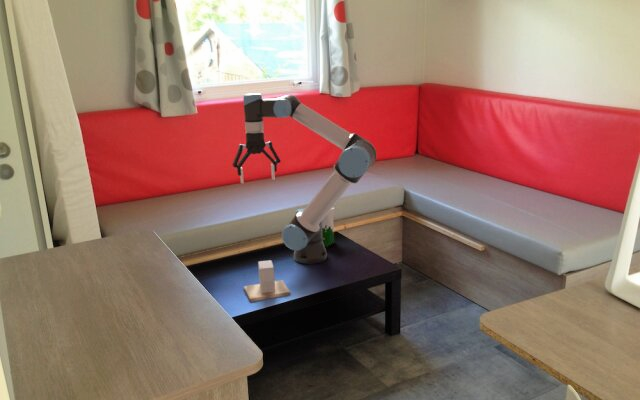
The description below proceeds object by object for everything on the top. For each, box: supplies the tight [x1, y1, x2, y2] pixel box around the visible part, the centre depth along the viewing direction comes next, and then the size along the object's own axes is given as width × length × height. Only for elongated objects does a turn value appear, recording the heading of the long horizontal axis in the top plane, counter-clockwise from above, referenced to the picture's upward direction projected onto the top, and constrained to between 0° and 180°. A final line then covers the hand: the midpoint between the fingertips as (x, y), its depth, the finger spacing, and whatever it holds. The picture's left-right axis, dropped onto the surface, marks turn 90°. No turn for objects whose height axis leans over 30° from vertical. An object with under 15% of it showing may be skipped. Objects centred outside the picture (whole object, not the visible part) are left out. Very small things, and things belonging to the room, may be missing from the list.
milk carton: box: [322, 207, 336, 248], centre depth 265 cm, size 9×9×20 cm
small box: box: [257, 259, 276, 293], centre depth 217 cm, size 8×6×10 cm
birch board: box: [243, 279, 291, 303], centre depth 219 cm, size 16×12×1 cm
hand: (257, 181), depth 234 cm, fingers open, 13 cm apart
